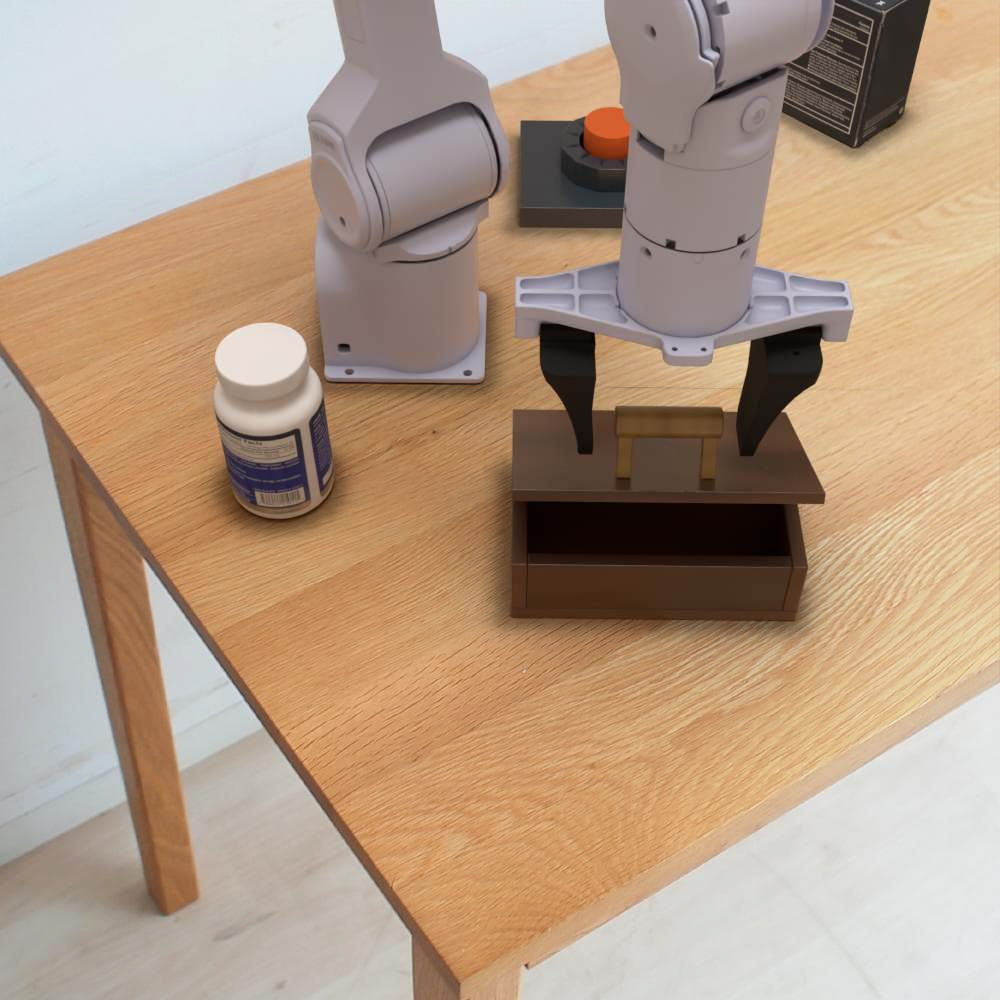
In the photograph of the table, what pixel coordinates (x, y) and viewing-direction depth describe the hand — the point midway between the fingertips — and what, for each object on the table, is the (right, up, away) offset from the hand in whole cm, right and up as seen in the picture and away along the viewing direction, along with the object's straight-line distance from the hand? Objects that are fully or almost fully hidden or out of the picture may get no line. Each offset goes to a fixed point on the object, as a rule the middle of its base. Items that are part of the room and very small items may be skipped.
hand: (664, 440), depth 69 cm
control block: (0, +19, +29) cm, 35 cm away
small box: (+16, +26, +36) cm, 47 cm away
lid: (0, -1, +3) cm, 3 cm away
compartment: (0, -5, +8) cm, 10 cm away
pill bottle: (-20, -2, +11) cm, 23 cm away
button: (0, +21, +27) cm, 34 cm away
